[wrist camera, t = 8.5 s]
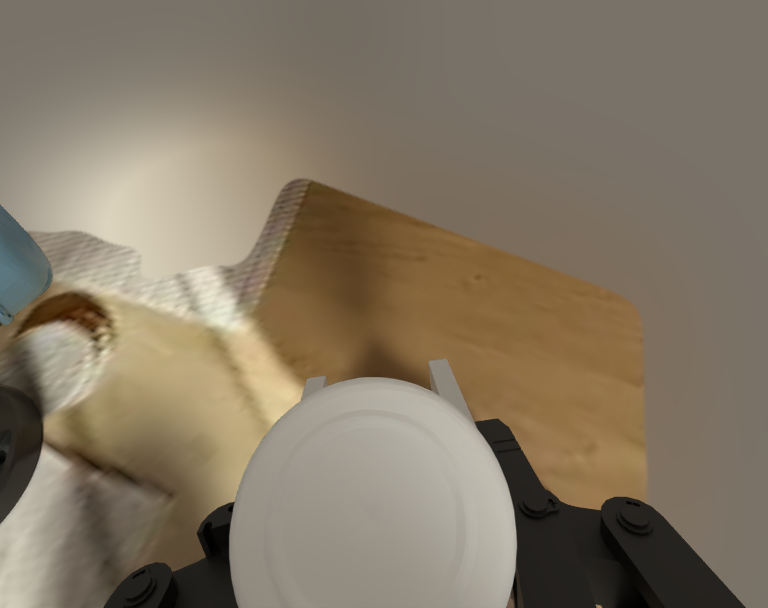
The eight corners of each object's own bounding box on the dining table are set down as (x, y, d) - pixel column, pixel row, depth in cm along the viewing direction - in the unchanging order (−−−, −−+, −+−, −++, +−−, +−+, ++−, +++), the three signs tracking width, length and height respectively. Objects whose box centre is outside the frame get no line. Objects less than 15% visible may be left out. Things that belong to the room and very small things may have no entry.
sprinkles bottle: (460, 531, 17) (590, 652, 5) (365, 567, 16) (240, 803, 4) (424, 431, 19) (450, 336, 7) (339, 462, 18) (202, 420, 6)
